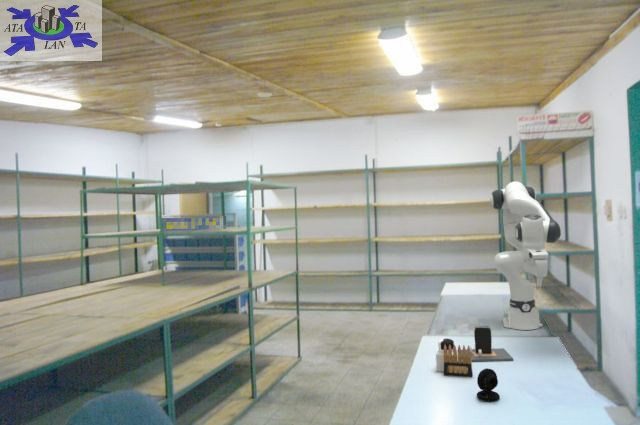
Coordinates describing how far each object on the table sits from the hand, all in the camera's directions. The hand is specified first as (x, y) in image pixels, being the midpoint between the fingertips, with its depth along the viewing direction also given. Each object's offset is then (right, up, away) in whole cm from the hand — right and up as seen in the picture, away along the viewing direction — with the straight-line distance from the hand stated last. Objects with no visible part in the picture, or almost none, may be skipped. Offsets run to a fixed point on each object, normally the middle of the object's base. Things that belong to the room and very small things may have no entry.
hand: (535, 284), depth 217 cm
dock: (-23, -30, -2) cm, 38 cm away
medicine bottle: (-42, -32, -15) cm, 55 cm away
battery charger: (-22, -30, -1) cm, 37 cm away
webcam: (-35, -33, -45) cm, 66 cm away
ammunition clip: (-39, -32, -23) cm, 56 cm away
